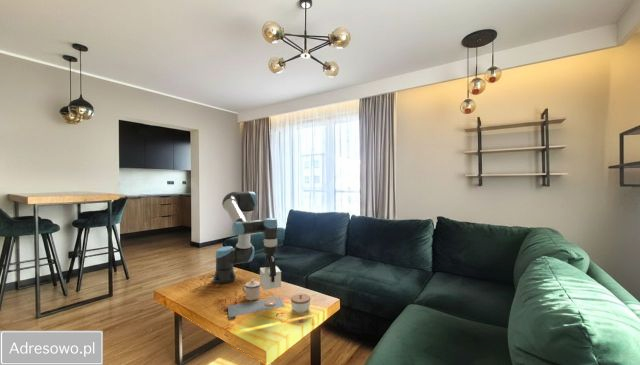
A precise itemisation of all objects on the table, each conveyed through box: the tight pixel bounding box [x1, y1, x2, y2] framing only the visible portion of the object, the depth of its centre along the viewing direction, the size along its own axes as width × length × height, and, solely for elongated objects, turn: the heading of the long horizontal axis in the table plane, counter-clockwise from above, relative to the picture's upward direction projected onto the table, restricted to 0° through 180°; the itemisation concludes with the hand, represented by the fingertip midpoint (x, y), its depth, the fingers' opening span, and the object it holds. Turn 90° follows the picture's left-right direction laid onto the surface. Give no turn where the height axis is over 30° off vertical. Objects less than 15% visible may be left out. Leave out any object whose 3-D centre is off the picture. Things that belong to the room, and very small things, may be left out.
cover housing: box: [259, 265, 282, 291], centre depth 152 cm, size 10×10×9 cm
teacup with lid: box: [241, 278, 261, 301], centre depth 161 cm, size 12×9×12 cm
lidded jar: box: [290, 293, 311, 314], centre depth 146 cm, size 11×11×9 cm
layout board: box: [227, 296, 286, 320], centre depth 149 cm, size 13×30×1 cm, turn 113°
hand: (270, 283), depth 152 cm, fingers closed on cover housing, 10 cm apart
